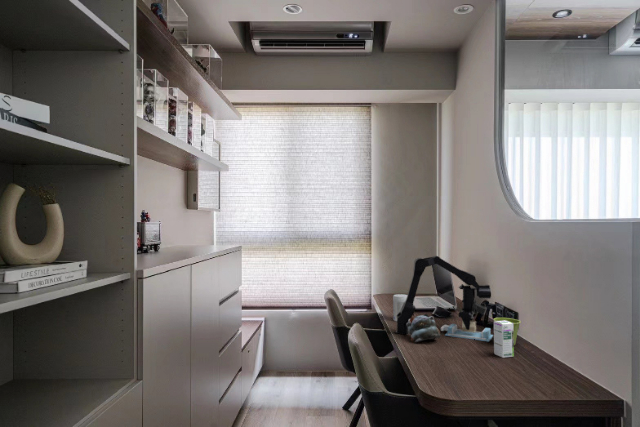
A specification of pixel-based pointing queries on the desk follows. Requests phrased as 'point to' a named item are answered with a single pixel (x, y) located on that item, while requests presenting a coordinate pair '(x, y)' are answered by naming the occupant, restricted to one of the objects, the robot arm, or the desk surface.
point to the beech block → (472, 327)
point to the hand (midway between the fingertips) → (468, 328)
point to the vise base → (473, 335)
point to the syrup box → (503, 339)
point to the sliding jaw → (449, 328)
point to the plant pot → (515, 325)
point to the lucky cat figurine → (423, 328)
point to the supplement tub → (398, 304)
